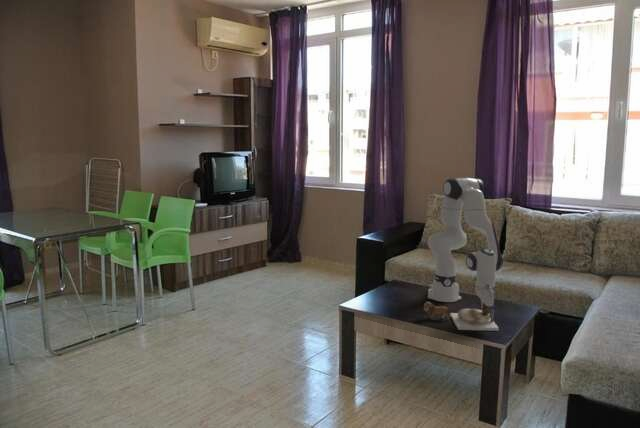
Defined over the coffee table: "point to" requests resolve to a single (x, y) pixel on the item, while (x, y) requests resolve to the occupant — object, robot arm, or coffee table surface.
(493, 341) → the coffee table surface
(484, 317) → the beige round knobbed piece
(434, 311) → the lion figurine
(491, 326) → the post base
